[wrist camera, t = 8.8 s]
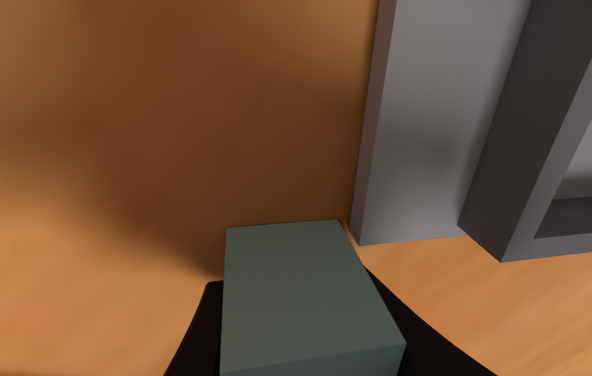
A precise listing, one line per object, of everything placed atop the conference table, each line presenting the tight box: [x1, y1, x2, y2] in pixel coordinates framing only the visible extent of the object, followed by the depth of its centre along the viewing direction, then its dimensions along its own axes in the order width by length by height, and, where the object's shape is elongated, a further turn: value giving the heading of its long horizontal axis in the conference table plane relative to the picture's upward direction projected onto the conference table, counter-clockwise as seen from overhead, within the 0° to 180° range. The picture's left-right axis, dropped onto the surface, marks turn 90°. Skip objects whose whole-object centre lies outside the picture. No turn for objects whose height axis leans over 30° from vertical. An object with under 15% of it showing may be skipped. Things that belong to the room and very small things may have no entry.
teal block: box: [220, 219, 406, 376], centre depth 9 cm, size 4×4×5 cm
